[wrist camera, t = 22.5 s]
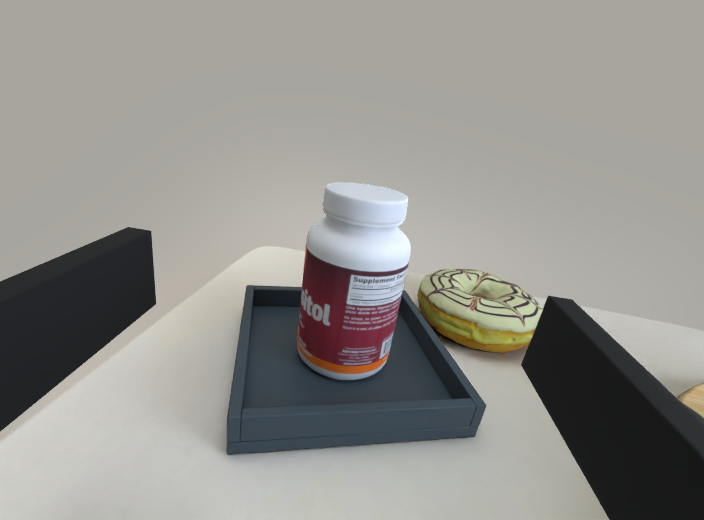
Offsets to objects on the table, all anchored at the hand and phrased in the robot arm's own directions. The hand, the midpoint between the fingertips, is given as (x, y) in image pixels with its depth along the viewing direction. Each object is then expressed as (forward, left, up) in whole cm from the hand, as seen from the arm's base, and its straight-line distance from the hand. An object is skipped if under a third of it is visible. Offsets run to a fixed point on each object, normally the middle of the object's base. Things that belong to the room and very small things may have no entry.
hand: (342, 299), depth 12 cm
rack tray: (+3, +9, -10) cm, 14 cm away
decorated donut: (+16, +14, -10) cm, 23 cm away
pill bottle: (+3, +9, -9) cm, 13 cm away
